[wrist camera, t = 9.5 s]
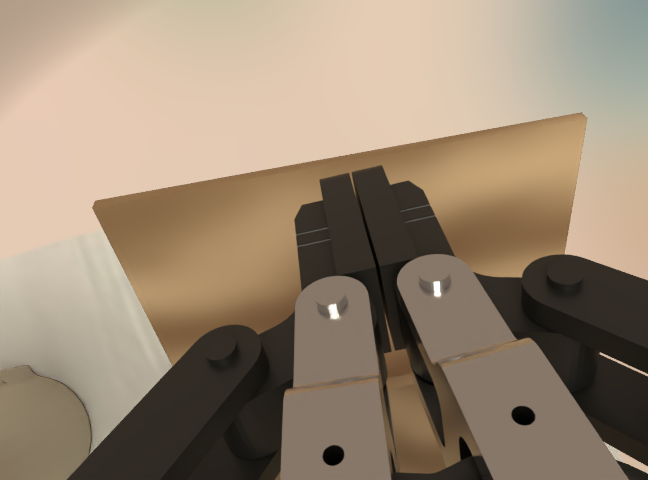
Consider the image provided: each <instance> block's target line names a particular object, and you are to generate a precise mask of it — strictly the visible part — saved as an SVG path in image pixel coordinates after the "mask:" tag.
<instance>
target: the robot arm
mask: <svg viewBox="0 0 648 480" xmlns="http://www.w3.org/2000/svg"><path fill="white" fill-rule="evenodd" d="M352 179H353V184H354V188H353V185H352V181H351V177H350V174H349V173H345V174H340V175H336V176H332V177H327V178H323V179H319V182H320V187H321V192H322V198H323V200H321V201H317V202H312V203H308V204H304V205H301V207H300V209H299V211H298V213H297V215H296V217H295V219H294V222H295V231H296V241H297V251H298V261H299V270H300V280H301V290H302V292H301V293H300V295H299V296H298V298H297V301H296V304H295V311H294V312H293V313H292V314H291V315H290V316H289V317H288V318H287V319H286V320H284V321H283V322H282V323H280V324H278V325H276V326H275V327H273V328H271V329H269V330H267V331H264V332H262V333H260V334H257V333H256V332H255V331H254V330H253V329H251V328H249V327H247V326H243V325H226V326H222V327H218V328H216V329H213V330H211V331H209V332H208V333H206V334H204V335H203V336H202V337H200V338H199V339H198V340H197V341H196V342H195V343H194V344H193V345H192V346H191V347H190V348H189V349H188V351H187V352H186V353H185V354H184V355H183V356H182V357H181V358H180V359H179V360H178V361H177V362H176V363H175V364H174V366H173V367H172V368H171V369H170V370H169V371H168V372H167V373H166V374H165V375H164V376H163V377H162V378H161V379H160V380H159V382H158V383H157V384H156V385H155V386H154V387H153V388H152V389H151V390H150V391H149V392H148V393H147V394H146V395H145V396H144V398H143V399H142V400H141V401H140V402H139V403H138V404H137V405H136V406H135V407H134V408H133V409H132V410H131V411H130V413H129V414H128V415H127V416H126V417H125V418H124V419H123V420H122V421H121V422H120V423H119V424H118V425H117V426H116V427H115V429H114V430H113V431H112V432H111V433H110V434H109V435H108V436H107V437H106V438H105V439H104V440H103V441H102V442H101V443H100V445H99V446H98V447H97V448H96V449H95V450H94V451H93V452H92V453H91V454H90V455H89V456H88V454H89V449H90V443H91V431H90V423H89V419H88V415H87V413H86V411H85V409H84V407H83V405H82V402H81V401H80V400H79V399H78V397H77V396H76V395H75V394H74V392H72V391H71V390H70V389H69V388H67V387H66V386H65V385H63V384H61V383H59V382H57V381H55V380H53V379H49V378H45V377H41V376H37V375H35V374H34V373H33V372H32V371H31V369H30V368H29V367H28V366H20V367H15V368H9V369H4V370H0V480H275V479H276V477H277V476H278V474H279V473H280V471H281V474H280V480H648V474H647V473H645V472H643V471H641V470H639V469H637V468H634V467H632V466H630V465H628V464H625V463H623V462H620V461H617V460H615V458H614V457H613V455H612V454H611V453H610V451H609V450H608V448H607V447H606V445H605V444H604V442H605V443H607V444H609V445H611V446H612V447H614V448H616V449H618V450H620V451H621V452H623V453H625V454H627V455H629V456H630V457H632V458H634V459H636V460H637V461H639V462H641V463H643V464H645V465H646V466H648V376H645V375H643V374H641V373H639V372H636V371H634V370H632V369H630V368H628V367H626V366H624V365H621V364H619V363H617V362H615V361H612V360H611V359H608V358H606V357H604V356H602V355H600V354H599V353H600V352H601V353H603V354H606V355H608V356H610V357H612V358H614V359H617V360H619V361H621V362H623V363H625V364H628V365H630V366H632V367H634V368H636V369H638V370H641V371H643V372H645V373H647V374H648V280H645V279H642V278H639V277H636V276H633V275H630V274H628V273H625V272H622V271H619V270H616V269H613V268H610V267H608V266H605V265H602V264H599V263H596V262H593V261H591V260H588V259H585V258H582V257H578V256H573V255H564V254H559V255H549V256H545V257H541V258H539V259H536V260H535V261H533V262H531V263H530V264H529V265H528V266H527V267H526V268H525V270H524V272H523V274H522V277H491V276H485V275H481V274H478V273H475V272H473V271H472V270H471V268H470V267H469V266H468V265H467V264H466V263H465V262H464V261H462V260H461V259H459V258H456V257H455V255H454V253H453V251H452V249H451V247H450V245H449V243H448V240H447V238H446V236H445V234H444V232H443V230H442V228H441V226H440V224H439V222H438V220H437V218H436V217H435V214H434V211H433V209H432V207H431V206H430V203H429V201H428V199H427V197H426V195H425V193H424V191H423V190H422V189H421V188H419V187H418V186H416V185H415V184H413V183H412V182H410V181H404V182H400V183H395V184H391V185H390V184H389V181H388V179H387V176H386V174H385V171H384V169H383V166H382V165H379V166H375V167H371V168H366V169H362V170H357V171H353V172H352ZM354 189H355V192H354ZM355 194H356V195H355ZM385 316H386V318H385ZM386 320H387V323H386ZM387 324H388V327H389V331H390V335H391V338H392V342H393V345H394V349H395V351H397V350H402V349H406V351H407V355H408V358H409V361H410V367H411V373H412V379H413V382H414V385H415V388H416V390H417V393H418V395H419V398H420V400H421V403H422V405H423V408H424V410H425V413H426V416H427V418H428V421H429V423H430V426H431V428H432V431H433V433H434V436H435V438H436V441H437V444H438V446H439V449H440V451H441V454H442V456H443V459H444V462H445V465H446V468H445V469H443V470H441V471H439V472H436V473H430V474H424V473H401V472H400V467H399V460H398V454H397V447H396V440H395V433H394V426H393V420H392V413H391V406H390V399H389V393H388V387H387V382H386V381H387V377H388V371H387V365H386V360H385V355H384V353H389V352H392V350H391V345H390V339H389V334H388V329H387Z"/></svg>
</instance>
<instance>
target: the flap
mask: <svg viewBox="0 0 648 480" xmlns="http://www.w3.org/2000/svg"><path fill="white" fill-rule="evenodd" d="M586 124H587V117H586V116H585V115H584V114H582V113H576V114H571V115H565V116H560V117H554V118H549V119H543V120H538V121H532V122H527V123H521V124H516V125H510V126H505V127H499V128H493V129H488V130H483V131H477V132H471V133H466V134H460V135H455V136H449V137H444V138H438V139H433V140H427V141H422V142H416V143H411V144H405V145H400V146H394V147H389V148H384V149H378V150H372V151H367V152H361V153H356V154H350V155H345V156H339V157H334V158H329V159H323V160H317V161H312V162H306V163H301V164H296V165H290V166H284V167H279V168H274V169H268V170H262V171H257V172H251V173H246V174H240V175H235V176H229V177H224V178H218V179H213V180H208V181H202V182H196V183H191V184H186V185H180V186H174V187H169V188H163V189H158V190H152V191H147V192H141V193H136V194H130V195H125V196H119V197H114V198H109V199H102V200H97V201H95V203H94V205H93V207H92V208H93V210H94V212H95V214H96V216H97V218H98V220H99V222H100V224H101V226H102V228H103V230H104V232H105V234H106V236H107V238H108V240H109V242H110V244H111V246H112V248H113V250H114V252H115V254H116V256H117V258H118V260H119V262H120V263H121V265H122V267H123V269H124V271H125V273H126V275H127V277H128V279H129V281H130V283H131V285H132V287H133V289H134V291H135V293H136V295H137V297H138V299H139V301H140V303H141V305H142V307H143V309H144V311H145V313H146V315H147V317H148V319H149V321H150V323H151V325H152V327H153V329H154V331H155V332H156V334H157V336H158V338H159V340H160V342H161V344H162V346H163V348H164V350H165V352H166V354H167V356H168V358H169V360H170V362H171V364H172V366H174V364H175V363H176V362H177V361H178V360H179V359H180V358H181V357H182V356H183V355H184V354H185V353H186V352H187V351H188V349H189V348H190V347H191V346H192V345H193V344H194V343H195V342H196V341H197V340H198V339H199V338H200V337H202V336H203V335H204V334H206V333H208V332H209V331H211V330H213V329H216V328H218V327H222V326H226V325H243V326H247V327H249V328H251V329H253V330H254V331H255V332H256V333H257V334H260V333H262V332H264V331H267V330H269V329H271V328H273V327H275V326H276V325H278V324H280V323H282V322H283V321H284V320H286V319H287V318H288V317H289V316H290V315H291V314H292V313H293V312H294V311H295V304H296V301H297V298H298V296H299V295H300V293H301V292H302V290H301V280H300V270H299V261H298V251H297V241H296V231H295V222H294V219H295V217H296V215H297V213H298V211H299V209H300V207H301V205H304V204H308V203H312V202H317V201H321V200H323V198H322V192H321V187H320V182H319V179H323V178H327V177H332V176H336V175H340V174H345V173H349V174H350V177H351V181H352V185H353V188H354V184H353V179H352V172H353V171H357V170H362V169H366V168H371V167H375V166H379V165H382V166H383V169H384V171H385V174H386V176H387V179H388V181H389V184H390V185H391V184H395V183H400V182H404V181H410V182H412V183H413V184H415V185H416V186H418V187H419V188H421V189H422V190H423V191H424V193H425V195H426V197H427V199H428V201H429V203H430V206H431V207H432V209H433V211H434V214H435V217H436V218H437V220H438V222H439V224H440V226H441V228H442V230H443V232H444V234H445V236H446V238H447V240H448V243H449V245H450V247H451V249H452V251H453V253H454V255H455V257H456V258H459V259H461V260H462V261H464V262H465V263H466V264H467V265H468V266H469V267H470V268H471V270H472V271H473V272H475V273H478V274H481V275H485V276H491V277H522V274H523V272H524V270H525V268H526V267H527V266H528V265H529V264H530V263H531V262H533V261H535V260H536V259H539V258H541V257H545V256H549V255H559V254H564V253H565V247H566V241H567V236H568V230H569V224H570V217H571V212H572V206H573V199H574V194H575V189H576V183H577V177H578V171H579V164H580V159H581V153H582V147H583V141H584V135H585V130H586ZM354 192H355V189H354ZM355 195H356V194H355ZM385 318H386V316H385ZM386 323H387V320H386ZM387 329H388V334H389V339H390V345H391V350H392V352H389V353H384V355H385V360H386V365H387V371H388V377H389V376H395V375H401V374H406V373H411V367H410V361H409V358H408V355H407V351H406V349H402V350H397V351H395V349H394V345H393V342H392V338H391V335H390V331H389V327H388V324H387Z"/></svg>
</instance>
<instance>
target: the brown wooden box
mask: <svg viewBox="0 0 648 480" xmlns="http://www.w3.org/2000/svg"><path fill="white" fill-rule="evenodd" d="M386 382H387V387H388V393H389V399H390V406H391V413H392V420H393V426H394V433H395V440H396V447H397V454H398V460H399V467H400V472H401V473H424V474H430V473H436V472H439V471H441V470H443V469H445V468H446V465H445V462H444V459H443V456H442V454H441V451H440V449H439V446H438V444H437V441H436V438H435V436H434V433H433V431H432V428H431V426H430V423H429V421H428V418H427V416H426V413H425V410H424V408H423V405H422V403H421V400H420V398H419V395H418V393H417V390H416V388H415V385H414V382H413V379H412V373H406V374H401V375H395V376H389V377H387V381H386ZM280 474H281V471H280V473H279V474H278V476H277V477H276V479H275V480H280Z"/></svg>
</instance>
